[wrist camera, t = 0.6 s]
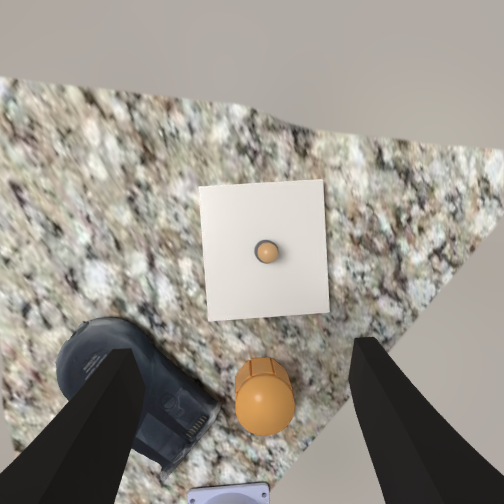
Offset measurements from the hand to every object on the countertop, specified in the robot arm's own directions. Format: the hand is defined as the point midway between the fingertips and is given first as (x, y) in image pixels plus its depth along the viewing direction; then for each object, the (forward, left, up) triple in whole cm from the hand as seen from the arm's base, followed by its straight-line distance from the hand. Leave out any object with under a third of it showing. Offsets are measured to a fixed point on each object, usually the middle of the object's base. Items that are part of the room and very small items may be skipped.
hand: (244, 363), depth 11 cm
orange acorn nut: (-11, -1, -21) cm, 23 cm away
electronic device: (-10, +11, -22) cm, 26 cm away
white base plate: (+2, -2, -21) cm, 21 cm away
